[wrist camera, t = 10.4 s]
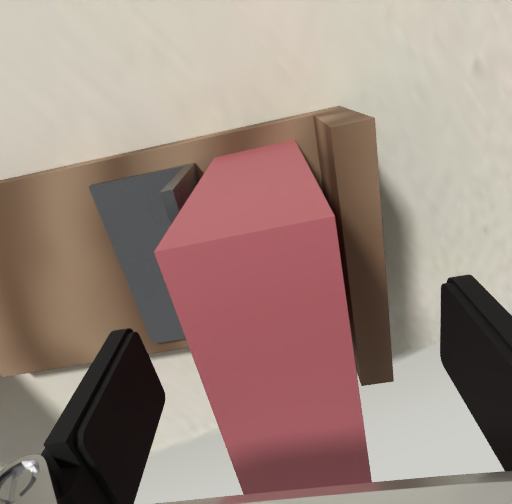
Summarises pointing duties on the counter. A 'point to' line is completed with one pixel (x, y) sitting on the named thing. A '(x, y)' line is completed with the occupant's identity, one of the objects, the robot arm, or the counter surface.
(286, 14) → the counter surface
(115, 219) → the bookend
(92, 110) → the counter surface
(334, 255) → the boxed book
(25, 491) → the robot arm
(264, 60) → the counter surface
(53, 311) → the book rack
